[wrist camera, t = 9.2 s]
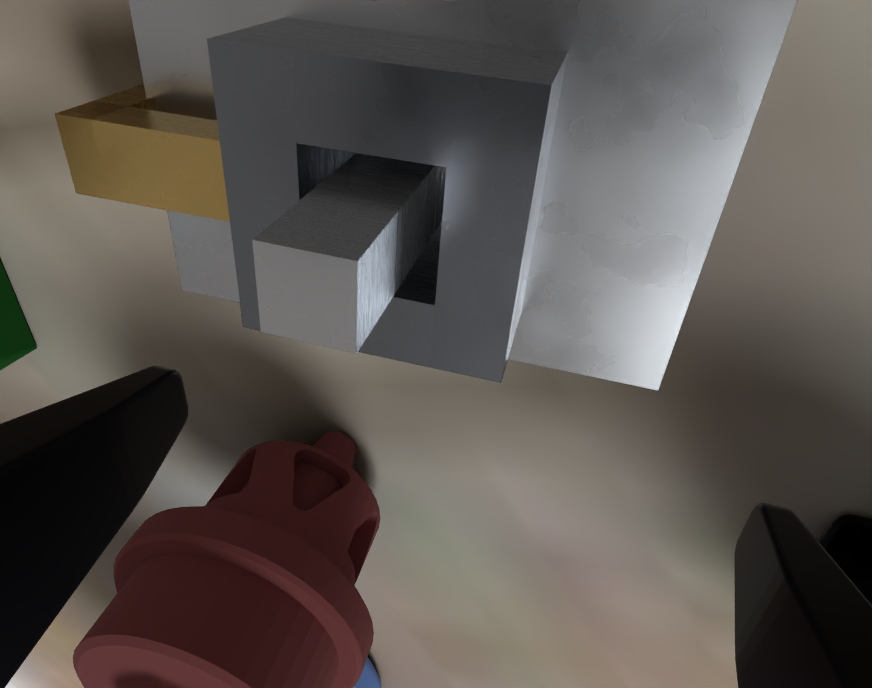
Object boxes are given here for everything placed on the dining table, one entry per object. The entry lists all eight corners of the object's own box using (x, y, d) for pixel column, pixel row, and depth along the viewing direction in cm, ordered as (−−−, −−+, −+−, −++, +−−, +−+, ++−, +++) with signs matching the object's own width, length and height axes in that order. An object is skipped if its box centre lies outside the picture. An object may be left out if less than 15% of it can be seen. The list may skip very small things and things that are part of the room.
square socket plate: (793, -18, 15) (851, 3, 11) (657, 373, 22) (662, 473, 18) (105, -87, 18) (-43, -89, 14) (174, 274, 25) (87, 340, 21)
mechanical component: (432, 558, 31) (253, 530, 34) (410, 399, 26) (199, 379, 28) (339, 855, 21) (95, 783, 24) (271, 698, 16) (-34, 626, 18)
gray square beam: (453, 142, 18) (357, 261, 12) (446, 212, 20) (356, 353, 13) (382, 130, 19) (252, 239, 12) (379, 200, 20) (260, 332, 14)
